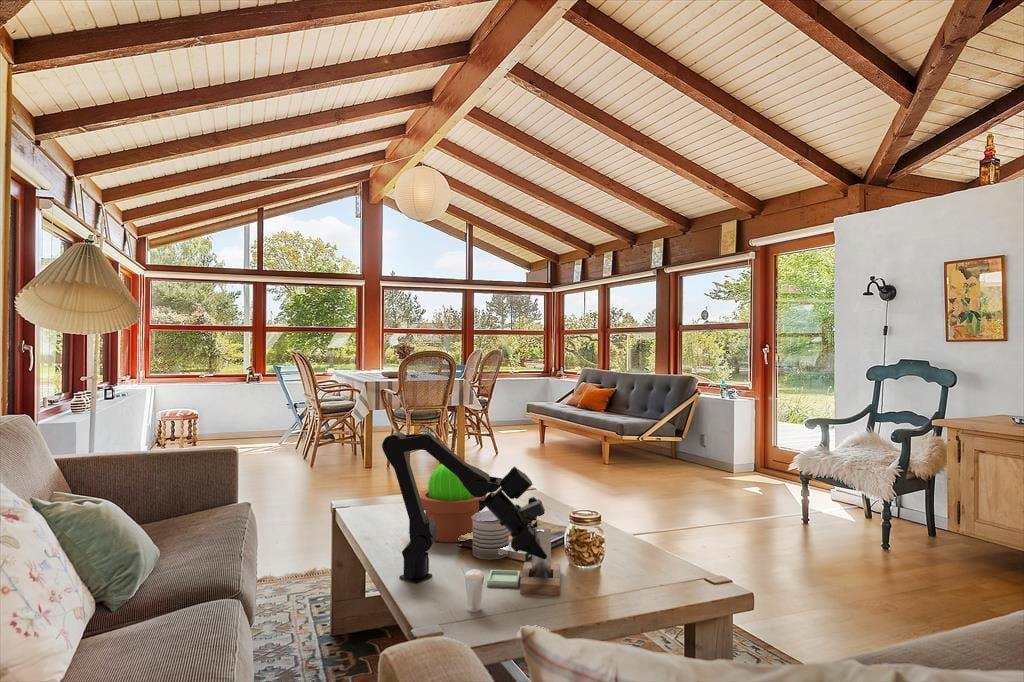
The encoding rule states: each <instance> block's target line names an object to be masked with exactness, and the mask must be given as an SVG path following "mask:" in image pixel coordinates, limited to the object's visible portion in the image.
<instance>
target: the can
mask: <svg viewBox="0 0 1024 682" xmlns="http://www.w3.org/2000/svg"><path fill="white" fill-rule="evenodd" d="M471 518H473V539H472V544H471V545H472V546H471V547H472V557H475V558H477V559H480V560H481V559H482V560H490V561H491V560H499V559H504V558H506V557H507V556H509V555H508V554H503V555H499V554H498V549H500V548H503V547H506V546H508V545H509V546H510V539H509V538H510V531H509V530H508V529H507V528H506V527H505V526H504V525H503V526H501V525H500V521H499V519H498V518H497V517H496V516H495V515H494V514H493V513H492V512H491V511H490V510H489V509H488V510H484V511H483V510H482V511H479V513H475V514H474V515H473V516H472V517H471Z"/></svg>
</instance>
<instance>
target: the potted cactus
mask: <svg viewBox="0 0 1024 682" xmlns="http://www.w3.org/2000/svg"><path fill="white" fill-rule="evenodd" d="M430 472H431V471H430ZM427 484H428V486H427V487H428V488H427V489H426V490H423V491H421V492H420V493H419V496H420V499H421V502H422V506H423V509H424V512H425V514H426V515H427V517H428V518H429V519H430V518H432V517H434V522H435V526H436V528H437V529H438V531H437V533H436V539H435V541H434V542H440V543H452V544H453V543H454V544H455V543H461V542H460V541H459V540H458V538H459V536H461V535H465V534H467V533H471V532H473V518H471V517H472V516H473V515H474V514H475V513H479V512H480V511H479V502H478V501H479V499H485V498H486V497H487V494H486V495H485V496H483V497H478V498H477V497H474V496H472V495H471V494H470V492H469V491H468V490H467V489H466V488H465V487H464V485H463V484H462V482H461V481H460V479H459V478H458V477H457V476H456V475H455V474H454V473H453V472H451V471H450V470H449V469H448V468H446V467H445V466H444V465H443V464H442V463H440V464H439V465H437V466H436V467H435V468H433V470H432V472H431V474H430V476H429V480H428V482H427Z"/></svg>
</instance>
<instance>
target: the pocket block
mask: <svg viewBox="0 0 1024 682" xmlns="http://www.w3.org/2000/svg"><path fill="white" fill-rule="evenodd" d="M522 567H523V568H522V571H521V576H520V581H519V594H522V595H544V596H545V595H546V596H560V595H561V563H557V562H556V563H555V562H551V578H539V577H532V561H531V562H530V561H529V562H527V561H524V563H523V566H522Z"/></svg>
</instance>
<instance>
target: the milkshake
mask: <svg viewBox="0 0 1024 682" xmlns="http://www.w3.org/2000/svg"><path fill="white" fill-rule="evenodd" d="M461 570H462V572H463V574H464V578H465V591H466V593H465V594H466V607H467V608H466V609H467V611H468V612H469V613H470V612H471V613H478V612H480V611H481V610H482V603H483V592H484V591H483V590H484V582H485V574H484V572H483V571H481V570H480V569H475V568H473V569H470V570H468V571H467V572H466V573H465V572H464V571H465V570H464V569H463V568H461Z"/></svg>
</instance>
